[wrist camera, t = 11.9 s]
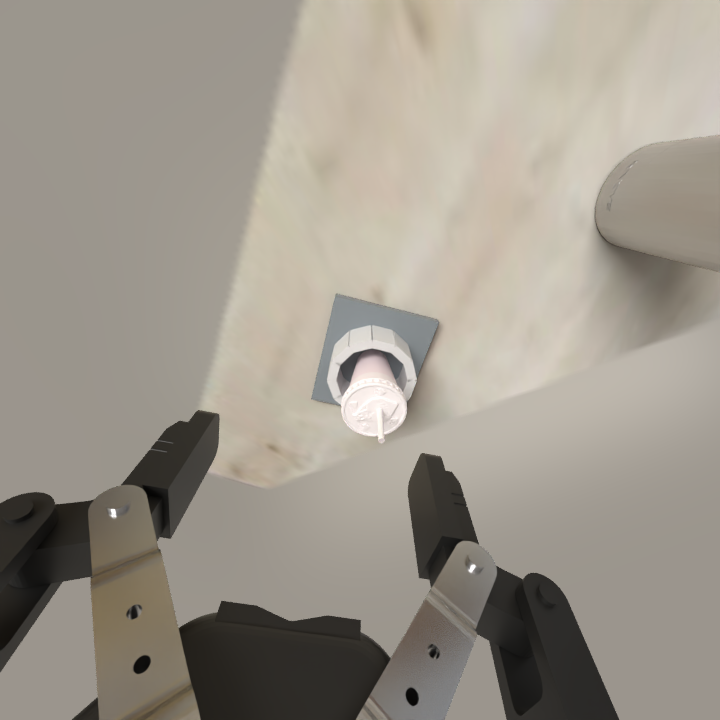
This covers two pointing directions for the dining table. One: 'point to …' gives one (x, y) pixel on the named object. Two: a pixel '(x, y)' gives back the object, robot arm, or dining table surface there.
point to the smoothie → (373, 398)
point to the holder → (371, 345)
